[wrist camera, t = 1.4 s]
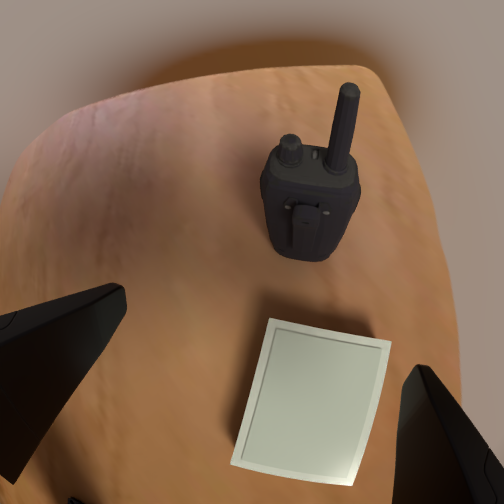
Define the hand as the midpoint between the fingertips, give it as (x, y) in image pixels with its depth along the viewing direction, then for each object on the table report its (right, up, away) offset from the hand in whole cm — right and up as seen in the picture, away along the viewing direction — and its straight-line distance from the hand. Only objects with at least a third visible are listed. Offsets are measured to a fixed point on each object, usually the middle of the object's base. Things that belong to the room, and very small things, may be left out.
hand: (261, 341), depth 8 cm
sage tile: (+4, -8, +11) cm, 14 cm away
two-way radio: (+4, +3, +15) cm, 16 cm away
